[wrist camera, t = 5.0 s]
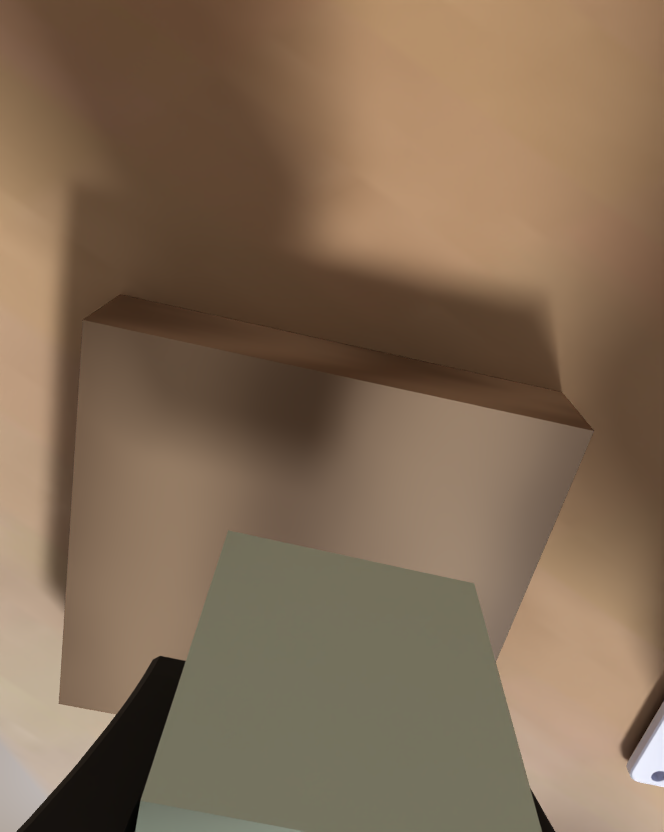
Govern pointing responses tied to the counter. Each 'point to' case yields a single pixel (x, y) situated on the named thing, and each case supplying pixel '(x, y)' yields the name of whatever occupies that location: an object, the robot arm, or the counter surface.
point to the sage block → (336, 705)
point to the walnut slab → (287, 475)
